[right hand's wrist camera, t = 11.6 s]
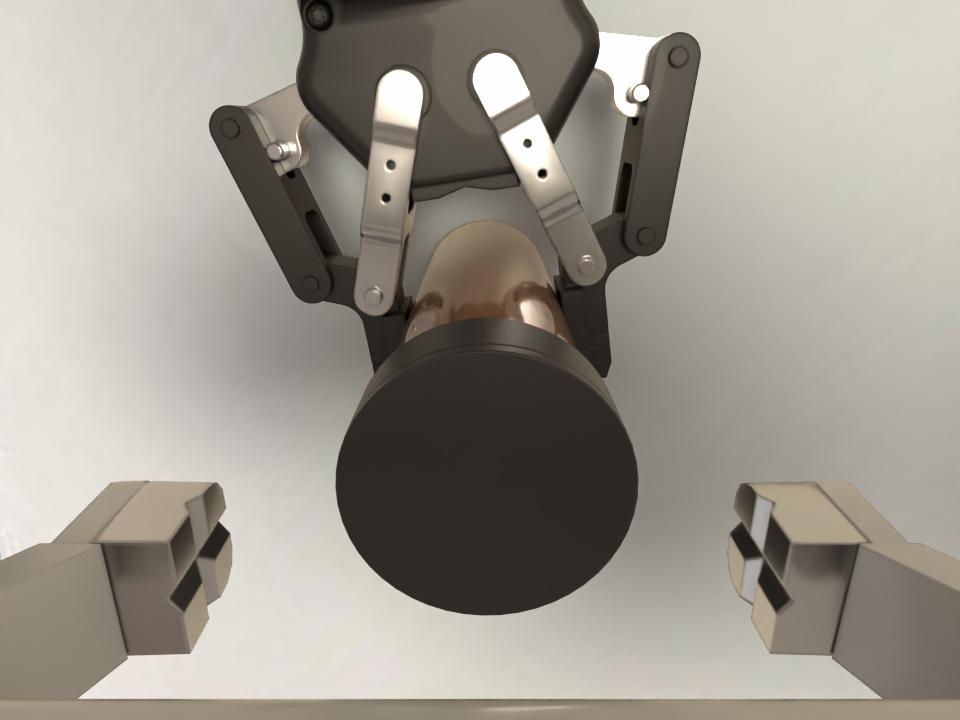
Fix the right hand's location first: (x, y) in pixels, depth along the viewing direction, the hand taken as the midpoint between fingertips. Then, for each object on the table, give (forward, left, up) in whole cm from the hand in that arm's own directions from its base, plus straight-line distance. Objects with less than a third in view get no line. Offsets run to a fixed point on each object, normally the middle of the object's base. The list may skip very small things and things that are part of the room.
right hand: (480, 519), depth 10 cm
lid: (-1, 0, -2) cm, 2 cm away
